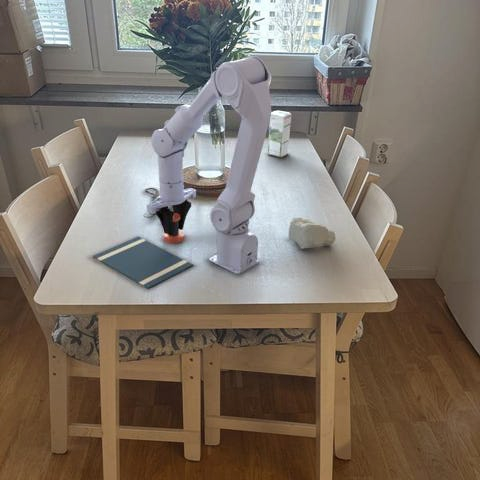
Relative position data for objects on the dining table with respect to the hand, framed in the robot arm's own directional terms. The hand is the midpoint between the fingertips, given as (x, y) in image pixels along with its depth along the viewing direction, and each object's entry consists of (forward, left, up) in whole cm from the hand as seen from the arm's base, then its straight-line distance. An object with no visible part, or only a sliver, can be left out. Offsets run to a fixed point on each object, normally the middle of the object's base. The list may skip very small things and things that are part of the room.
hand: (173, 231), depth 129 cm
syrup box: (+21, -71, -2) cm, 74 cm away
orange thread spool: (0, 0, -2) cm, 2 cm away
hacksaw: (+18, -10, -2) cm, 21 cm away
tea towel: (-3, +13, -2) cm, 14 cm away
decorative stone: (-27, -23, -2) cm, 36 cm away
